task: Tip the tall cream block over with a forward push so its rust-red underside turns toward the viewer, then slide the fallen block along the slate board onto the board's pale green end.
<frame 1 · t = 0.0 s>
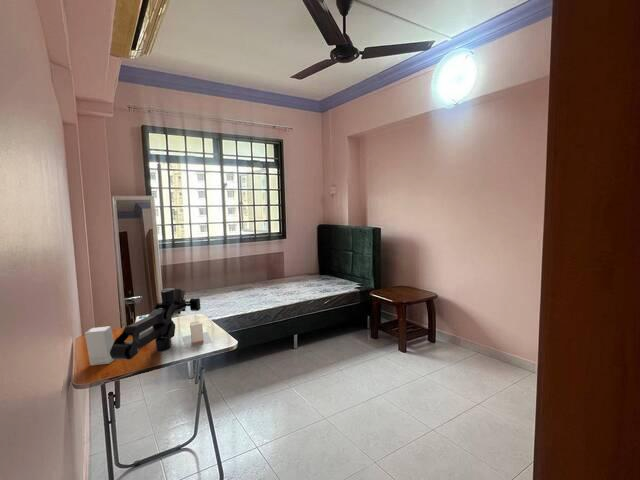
hand: (190, 299, 178), 17 cm above the table, tool horizontal, fingers open, 9 cm apart
board: (195, 337, 168), on the table
light bulb box: (145, 338, 171), on the table
skincare box: (103, 362, 146), on the table
cream block: (197, 341, 160), point 1 cm above the table, touching board
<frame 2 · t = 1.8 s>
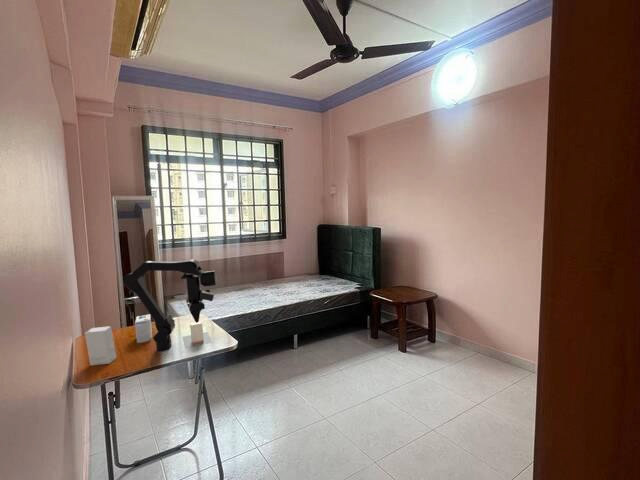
hand: (196, 320, 155), 13 cm above the table, tool pointing down, fingers open, 5 cm apart
nothing on the table moved.
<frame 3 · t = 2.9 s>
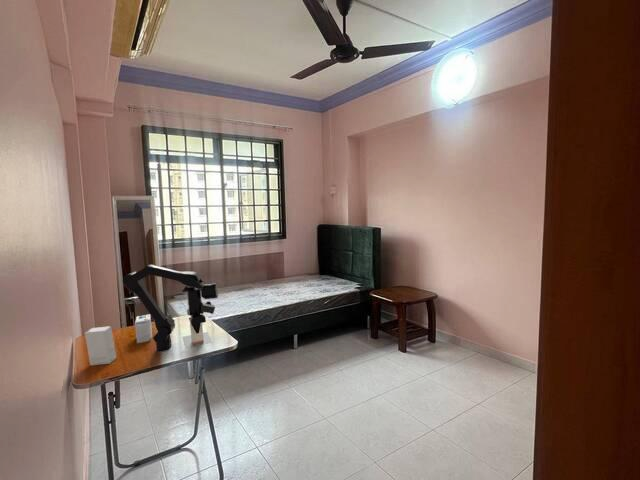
hand: (197, 333, 156), 7 cm above the table, tool pointing down, fingers closed
cream block: (197, 341, 160), point 1 cm above the table, touching board, gripper
everything else where it was.
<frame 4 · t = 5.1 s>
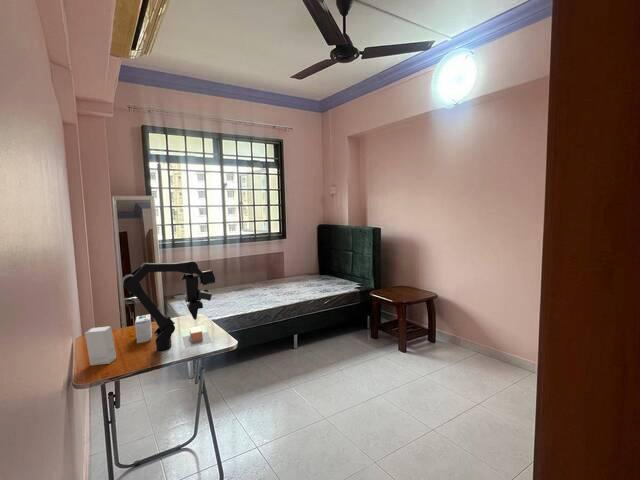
hand: (195, 319, 161), 11 cm above the table, tool pointing down, fingers closed
cream block: (197, 336, 161), point 3 cm above the table, tilted 90°, touching board
everything else where it was.
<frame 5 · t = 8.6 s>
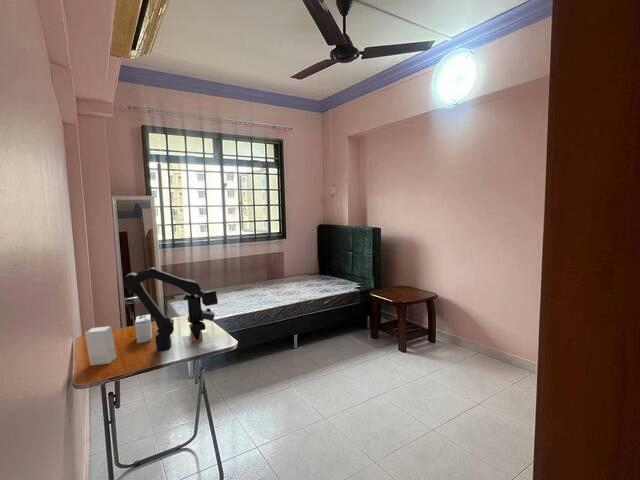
hand: (197, 339, 160), 2 cm above the table, tool pointing down, fingers closed
cream block: (196, 336, 161), point 3 cm above the table, tilted 90°, touching gripper
everything else where it was.
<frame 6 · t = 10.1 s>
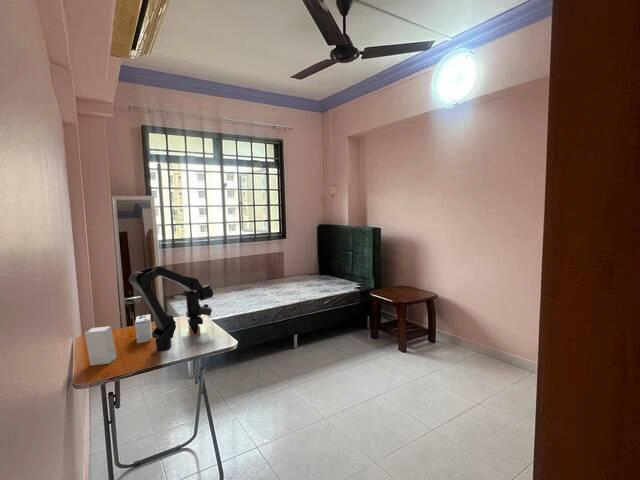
hand: (195, 334, 167), 2 cm above the table, tool pointing down, fingers closed
cream block: (194, 331, 169), point 3 cm above the table, tilted 90°, touching board, gripper
everything else where it was.
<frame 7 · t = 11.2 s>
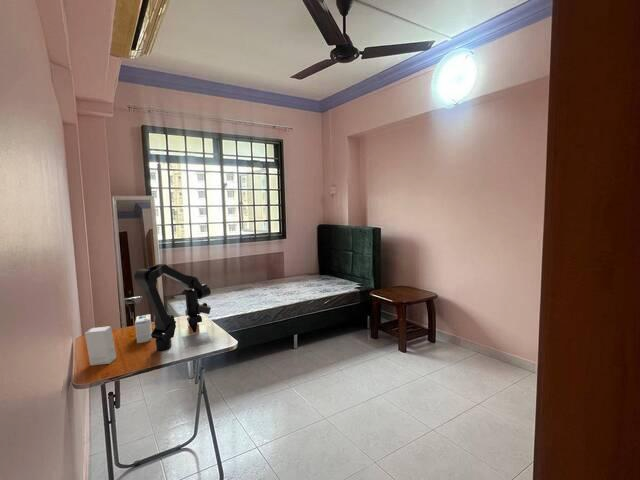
hand: (194, 332, 170), 2 cm above the table, tool pointing down, fingers closed
cream block: (194, 329, 172), point 3 cm above the table, tilted 90°, touching board, gripper
everything else where it was.
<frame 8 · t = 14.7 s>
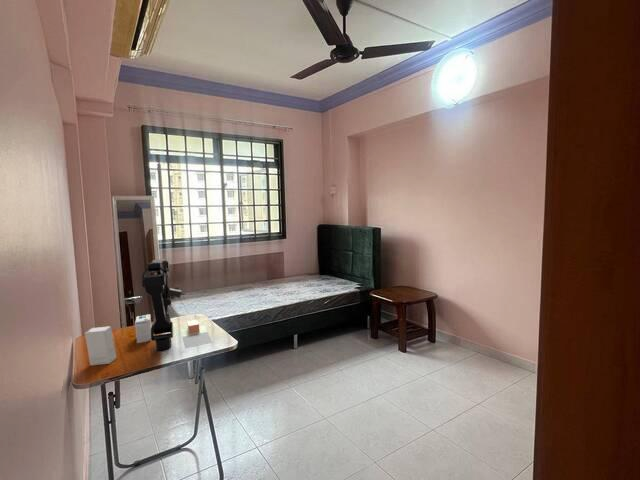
hand: (165, 316, 167), 12 cm above the table, tool pointing down, fingers closed
cream block: (194, 329, 172), point 3 cm above the table, tilted 90°, touching board
everything else where it was.
at the end: cream block tilted 90°; cream block inside the target area (0.1 cm from its centre), point 3.2 cm above the table; cream block touching board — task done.
